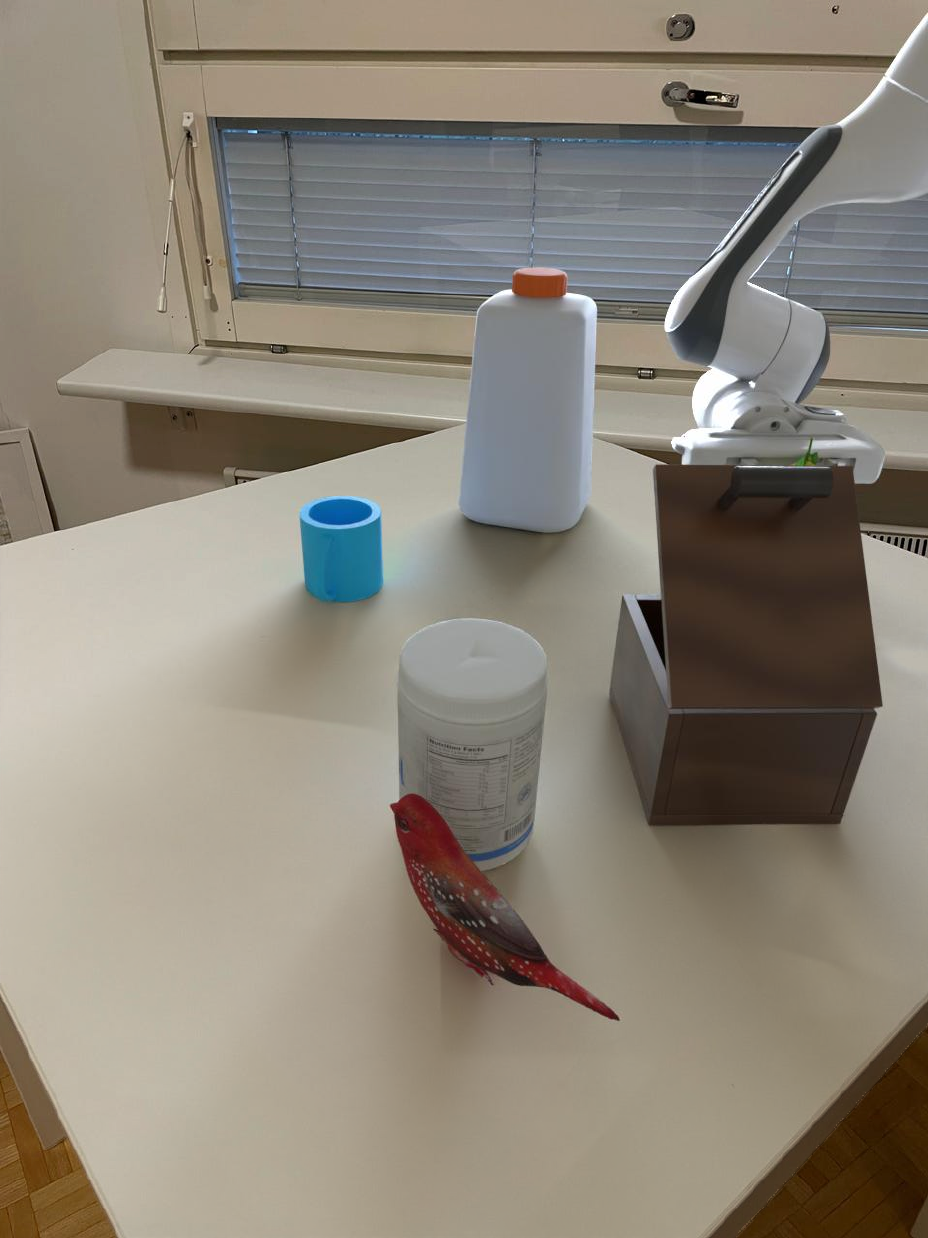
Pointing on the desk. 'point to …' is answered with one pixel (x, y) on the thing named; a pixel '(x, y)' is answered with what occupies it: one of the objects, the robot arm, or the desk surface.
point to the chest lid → (764, 588)
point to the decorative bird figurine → (474, 907)
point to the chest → (726, 744)
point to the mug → (342, 548)
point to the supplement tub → (474, 731)
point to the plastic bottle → (531, 406)
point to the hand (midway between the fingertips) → (806, 486)
